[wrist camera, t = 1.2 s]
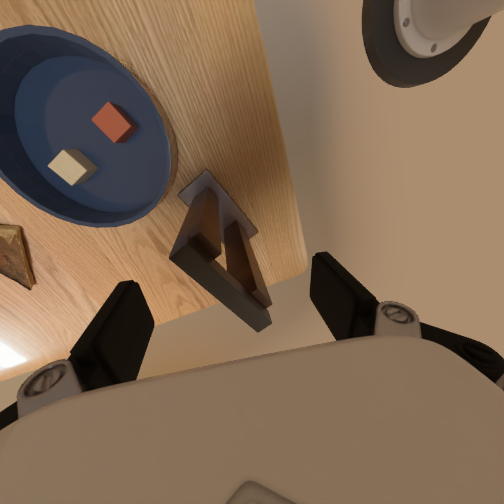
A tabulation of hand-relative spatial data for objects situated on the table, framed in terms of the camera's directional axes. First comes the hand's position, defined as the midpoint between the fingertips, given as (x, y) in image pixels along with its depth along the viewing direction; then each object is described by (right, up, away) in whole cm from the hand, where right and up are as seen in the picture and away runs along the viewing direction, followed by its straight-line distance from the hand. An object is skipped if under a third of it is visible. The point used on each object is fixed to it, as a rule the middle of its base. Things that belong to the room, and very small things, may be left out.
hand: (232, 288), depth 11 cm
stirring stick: (-1, -1, +6) cm, 6 cm away
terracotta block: (-16, +18, +15) cm, 29 cm away
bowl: (-19, +16, +16) cm, 30 cm away
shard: (-36, +3, +21) cm, 41 cm away
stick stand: (-4, +9, +23) cm, 25 cm away
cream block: (-22, +14, +17) cm, 31 cm away
